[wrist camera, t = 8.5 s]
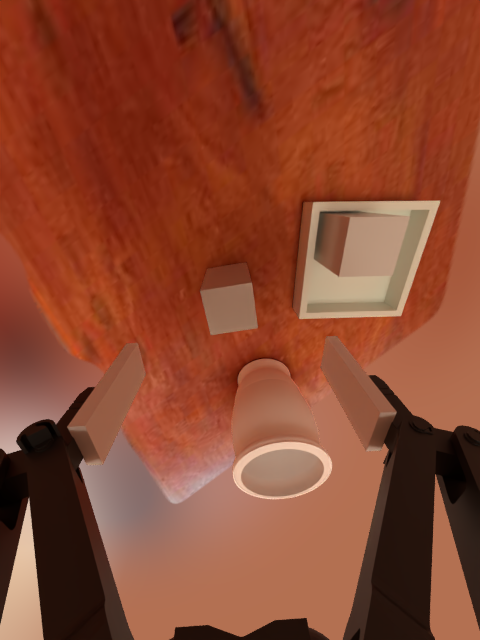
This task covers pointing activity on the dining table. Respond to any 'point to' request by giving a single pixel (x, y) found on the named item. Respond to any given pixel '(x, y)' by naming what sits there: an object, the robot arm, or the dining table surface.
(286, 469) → the jar
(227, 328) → the grey rectangular block
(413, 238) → the bin
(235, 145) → the dining table surface
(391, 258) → the tall grey rectangular prism
